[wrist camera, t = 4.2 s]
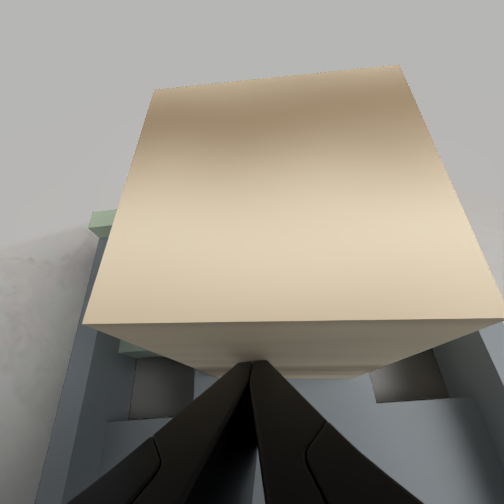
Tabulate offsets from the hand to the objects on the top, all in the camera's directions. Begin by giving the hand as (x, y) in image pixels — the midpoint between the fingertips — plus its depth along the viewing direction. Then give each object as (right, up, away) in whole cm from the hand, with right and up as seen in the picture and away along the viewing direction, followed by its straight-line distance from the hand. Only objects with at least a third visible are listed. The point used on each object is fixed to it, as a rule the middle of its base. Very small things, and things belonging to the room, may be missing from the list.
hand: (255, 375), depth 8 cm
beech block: (+1, 0, +6) cm, 7 cm away
